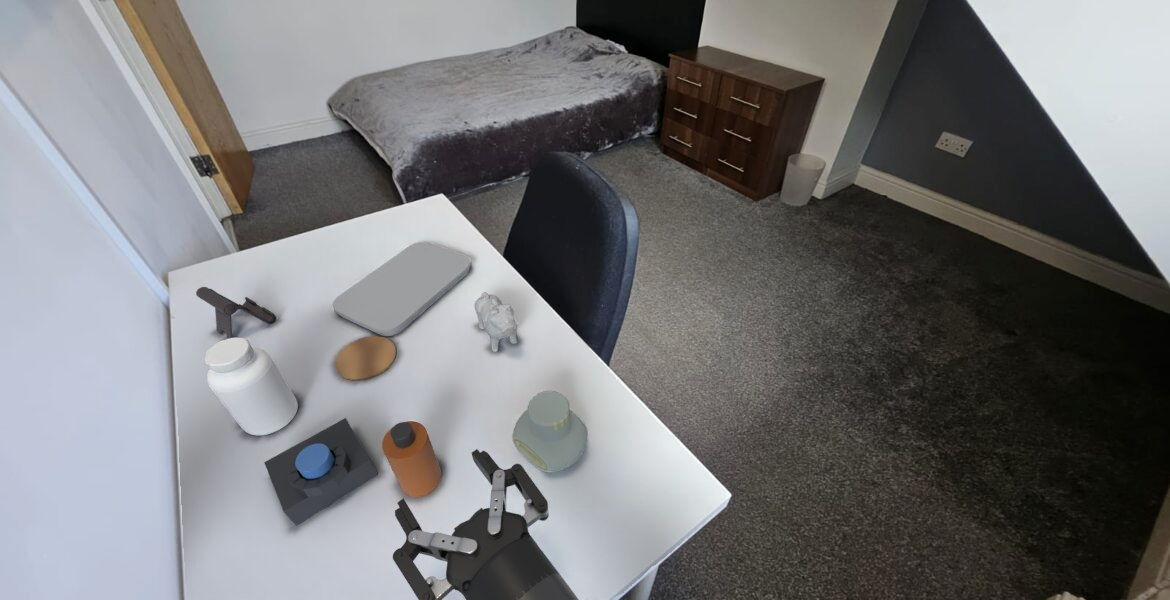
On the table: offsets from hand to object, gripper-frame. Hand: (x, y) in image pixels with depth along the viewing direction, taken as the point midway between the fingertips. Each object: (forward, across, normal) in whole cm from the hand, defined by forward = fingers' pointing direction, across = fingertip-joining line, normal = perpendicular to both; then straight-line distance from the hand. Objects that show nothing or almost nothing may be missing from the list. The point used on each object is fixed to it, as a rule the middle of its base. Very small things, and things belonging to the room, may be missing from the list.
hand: (439, 478), depth 50 cm
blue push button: (+18, +10, +10) cm, 23 cm away
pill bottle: (+36, +13, +16) cm, 42 cm away
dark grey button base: (+20, +10, +16) cm, 28 cm away
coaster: (+38, -3, +16) cm, 41 cm away
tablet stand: (+61, +11, +16) cm, 64 cm away
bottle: (+11, 0, +16) cm, 20 cm away
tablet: (+51, -17, +16) cm, 56 cm away
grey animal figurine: (+27, -24, +16) cm, 40 cm away
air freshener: (+3, -17, +16) cm, 24 cm away
